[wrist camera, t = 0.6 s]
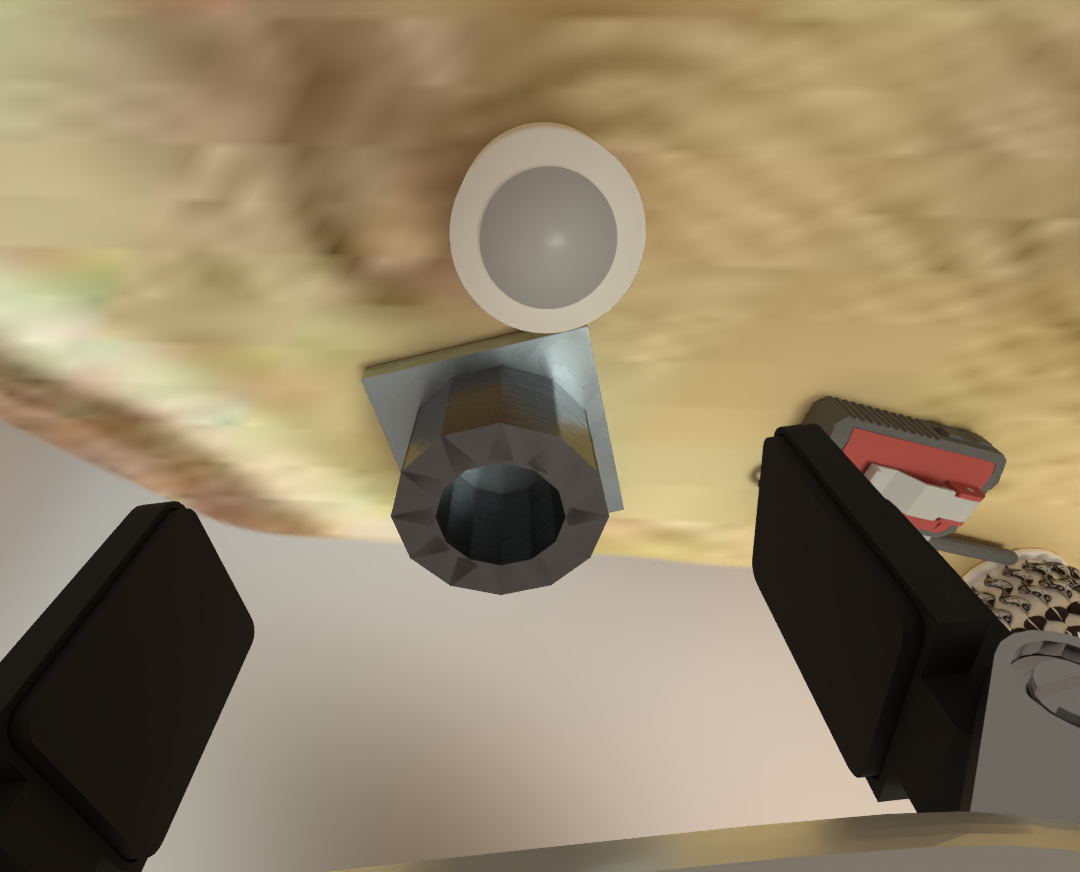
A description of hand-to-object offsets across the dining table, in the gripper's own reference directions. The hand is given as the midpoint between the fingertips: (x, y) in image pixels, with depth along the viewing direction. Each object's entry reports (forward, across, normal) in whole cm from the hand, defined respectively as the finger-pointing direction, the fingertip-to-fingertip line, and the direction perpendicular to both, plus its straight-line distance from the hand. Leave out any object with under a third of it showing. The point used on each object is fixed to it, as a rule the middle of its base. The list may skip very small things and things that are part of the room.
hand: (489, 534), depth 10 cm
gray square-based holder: (+22, +2, +11) cm, 25 cm away
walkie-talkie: (+22, -24, +18) cm, 37 cm away
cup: (+22, -2, -1) cm, 22 cm away
